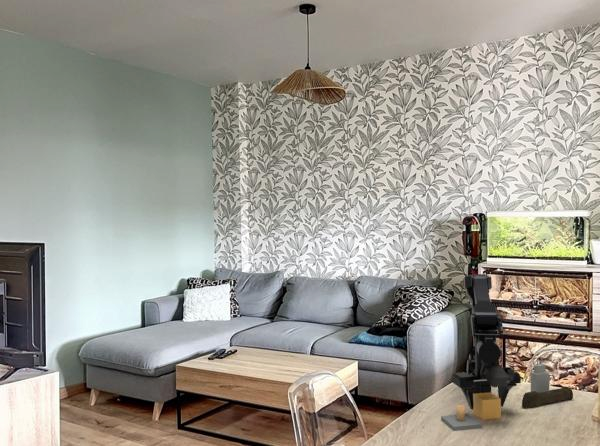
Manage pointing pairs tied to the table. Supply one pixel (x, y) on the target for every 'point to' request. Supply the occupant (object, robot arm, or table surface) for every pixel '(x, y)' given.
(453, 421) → the grey base with peg
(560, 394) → the hand tool
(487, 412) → the orange foam cube
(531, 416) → the table surface
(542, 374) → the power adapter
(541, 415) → the table surface
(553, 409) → the table surface
